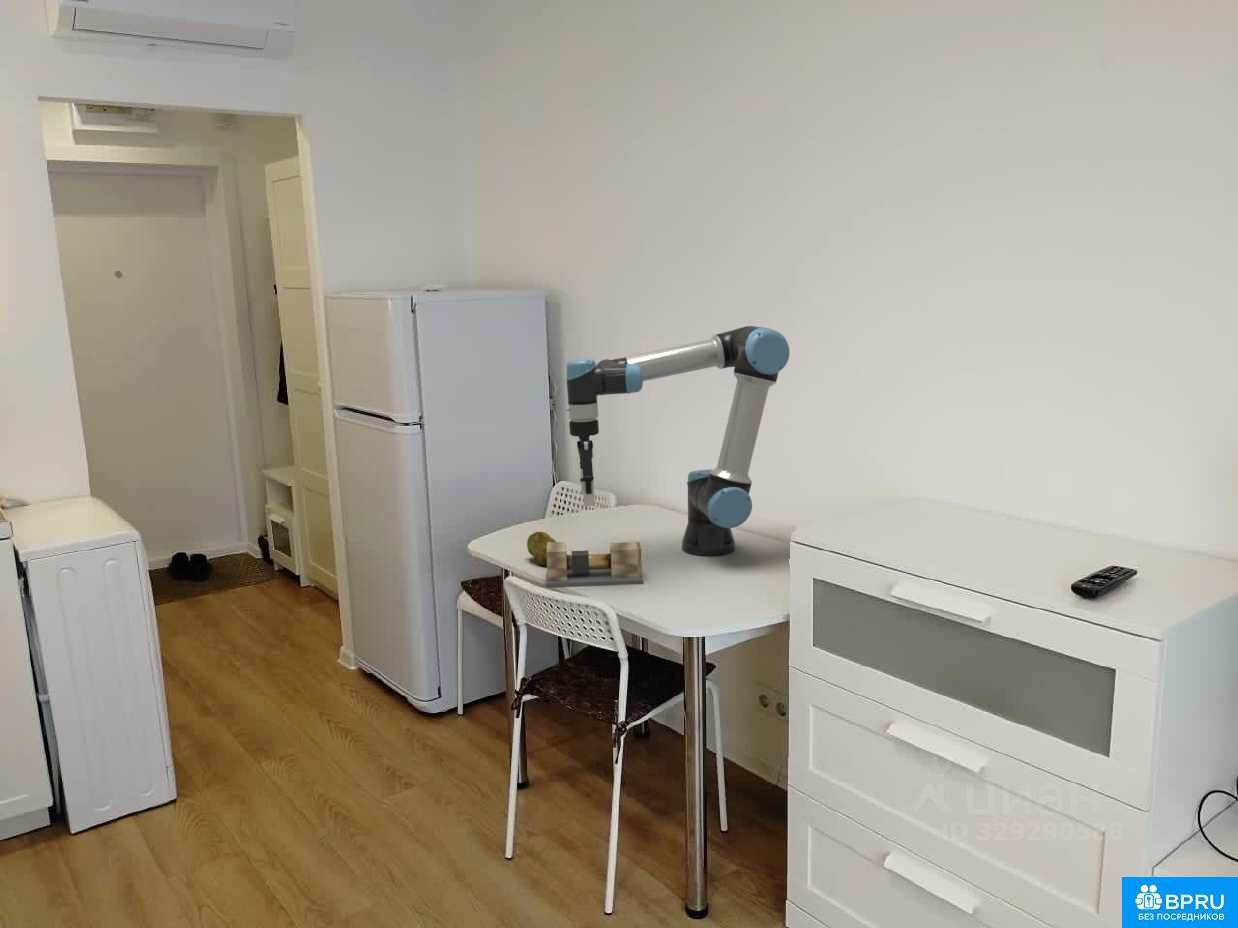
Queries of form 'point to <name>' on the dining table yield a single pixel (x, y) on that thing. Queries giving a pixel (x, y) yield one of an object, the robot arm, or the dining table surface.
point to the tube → (587, 562)
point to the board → (593, 579)
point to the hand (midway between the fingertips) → (588, 499)
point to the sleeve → (626, 560)
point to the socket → (556, 561)
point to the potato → (539, 546)
